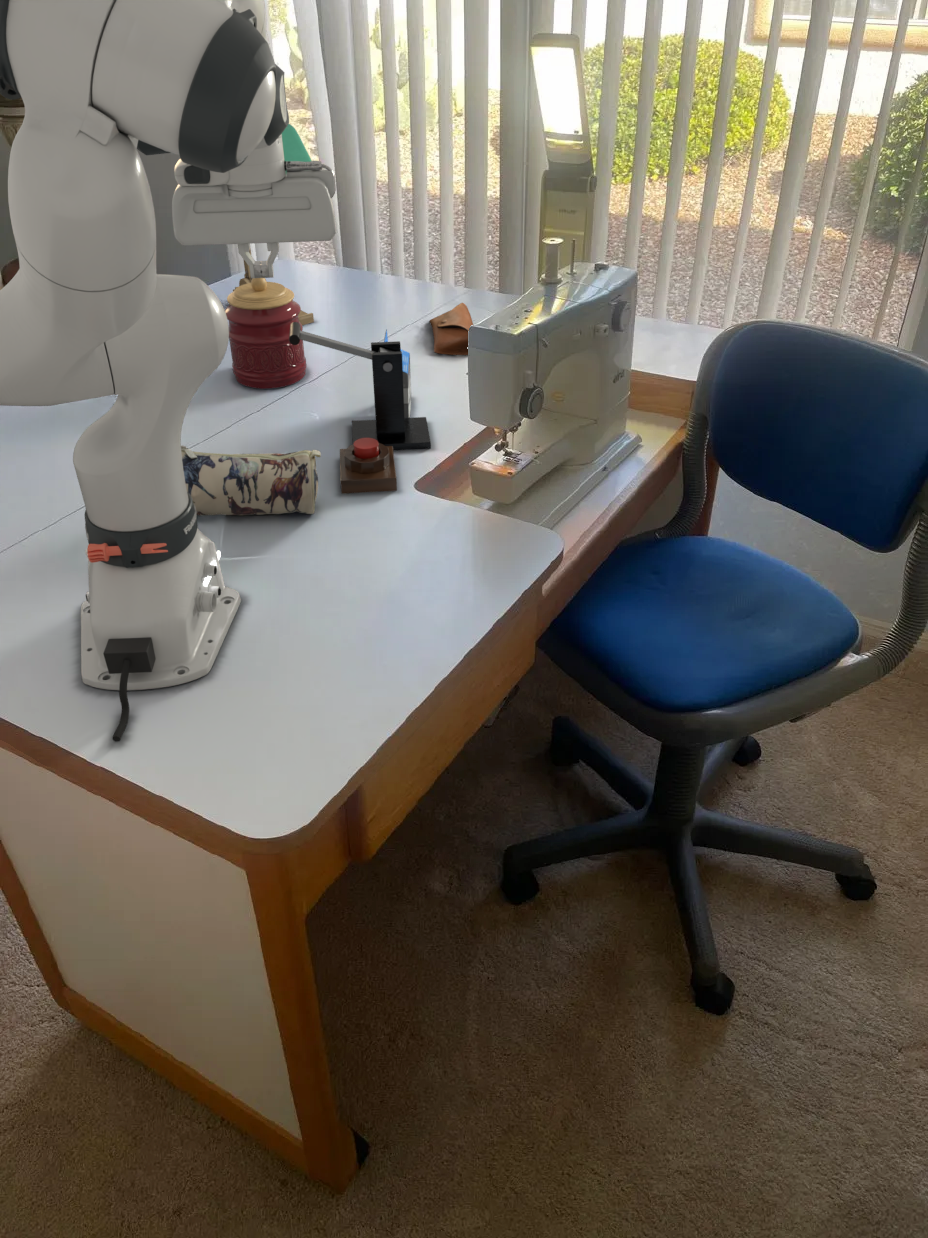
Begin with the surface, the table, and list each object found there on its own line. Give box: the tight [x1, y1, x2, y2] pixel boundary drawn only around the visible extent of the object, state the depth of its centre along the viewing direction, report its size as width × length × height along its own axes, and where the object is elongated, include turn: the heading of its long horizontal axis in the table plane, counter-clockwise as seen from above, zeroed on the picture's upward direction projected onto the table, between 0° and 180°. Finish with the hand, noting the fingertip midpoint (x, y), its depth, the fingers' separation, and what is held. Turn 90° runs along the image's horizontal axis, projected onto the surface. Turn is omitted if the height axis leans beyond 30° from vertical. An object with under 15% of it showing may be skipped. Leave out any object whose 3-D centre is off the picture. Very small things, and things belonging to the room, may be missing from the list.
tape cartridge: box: [383, 328, 412, 418], centre depth 158 cm, size 9×4×12 cm, turn 0°
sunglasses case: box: [428, 302, 474, 356], centre depth 187 cm, size 18×7×7 cm
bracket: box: [351, 340, 432, 452], centre depth 149 cm, size 12×9×15 cm
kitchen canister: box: [224, 278, 308, 390], centre depth 168 cm, size 13×13×18 cm
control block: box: [339, 443, 398, 495], centre depth 143 cm, size 10×8×4 cm
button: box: [354, 438, 379, 459], centre depth 141 cm, size 4×4×2 cm
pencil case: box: [181, 444, 322, 516], centre depth 133 cm, size 22×8×10 cm, turn 90°
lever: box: [289, 322, 395, 361], centre depth 144 cm, size 16×5×2 cm, turn 98°
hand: (262, 276), depth 127 cm, fingers closed
